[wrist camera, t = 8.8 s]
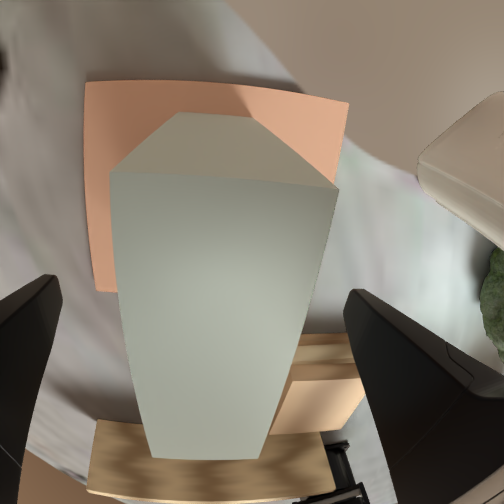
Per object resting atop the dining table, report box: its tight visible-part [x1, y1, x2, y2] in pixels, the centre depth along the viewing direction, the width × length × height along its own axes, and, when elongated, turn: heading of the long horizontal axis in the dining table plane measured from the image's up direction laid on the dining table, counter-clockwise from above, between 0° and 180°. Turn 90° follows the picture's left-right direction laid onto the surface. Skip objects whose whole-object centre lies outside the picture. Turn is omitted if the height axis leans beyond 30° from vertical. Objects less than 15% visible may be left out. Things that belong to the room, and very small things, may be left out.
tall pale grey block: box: [109, 112, 339, 460], centre depth 11 cm, size 4×9×11 cm, turn 172°
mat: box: [84, 80, 349, 293], centre depth 16 cm, size 13×12×1 cm
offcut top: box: [268, 363, 365, 435], centre depth 22 cm, size 6×7×2 cm
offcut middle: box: [292, 343, 355, 364], centre depth 24 cm, size 7×8×2 cm
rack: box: [86, 419, 336, 504], centre depth 21 cm, size 22×14×8 cm, turn 83°
